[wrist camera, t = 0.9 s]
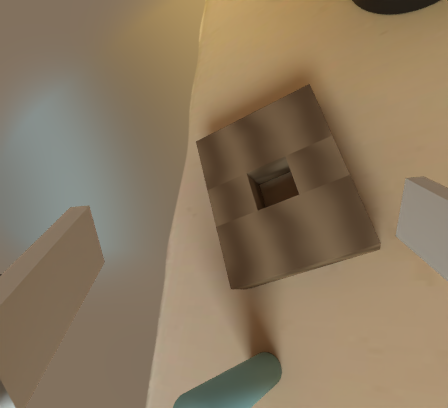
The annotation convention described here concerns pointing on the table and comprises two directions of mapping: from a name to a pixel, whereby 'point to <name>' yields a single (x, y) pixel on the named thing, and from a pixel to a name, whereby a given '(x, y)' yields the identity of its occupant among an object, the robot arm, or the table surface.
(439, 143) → the table surface
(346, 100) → the table surface
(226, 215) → the walnut hole block
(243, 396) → the teal dowel
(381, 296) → the table surface
